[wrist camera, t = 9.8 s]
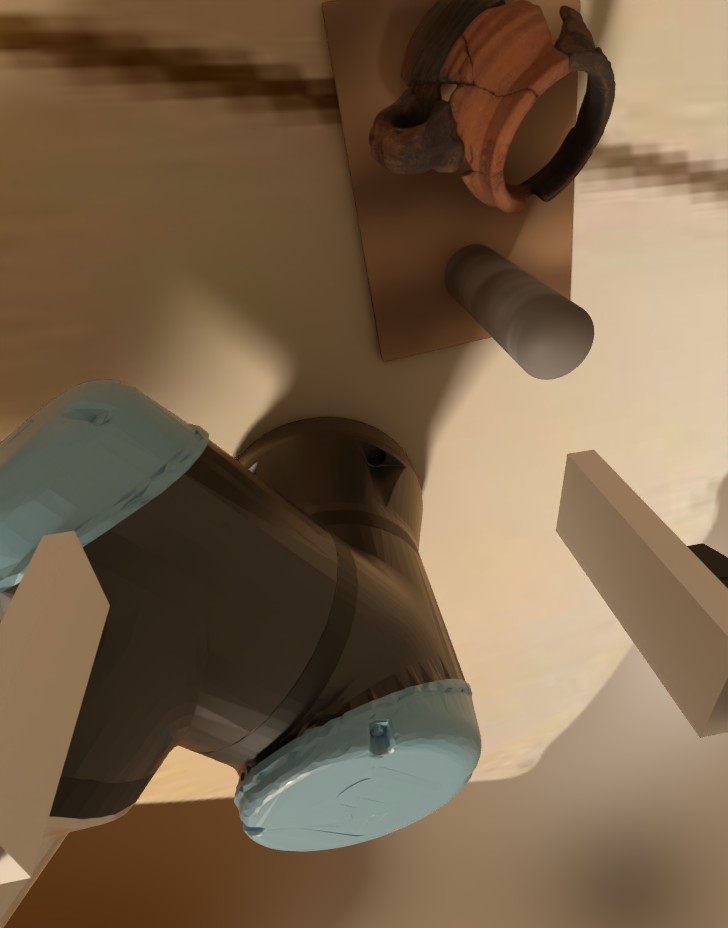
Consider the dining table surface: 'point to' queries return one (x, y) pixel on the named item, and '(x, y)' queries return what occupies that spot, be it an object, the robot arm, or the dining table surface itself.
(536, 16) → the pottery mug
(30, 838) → the robot arm
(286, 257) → the dining table surface
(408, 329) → the brown board with post
